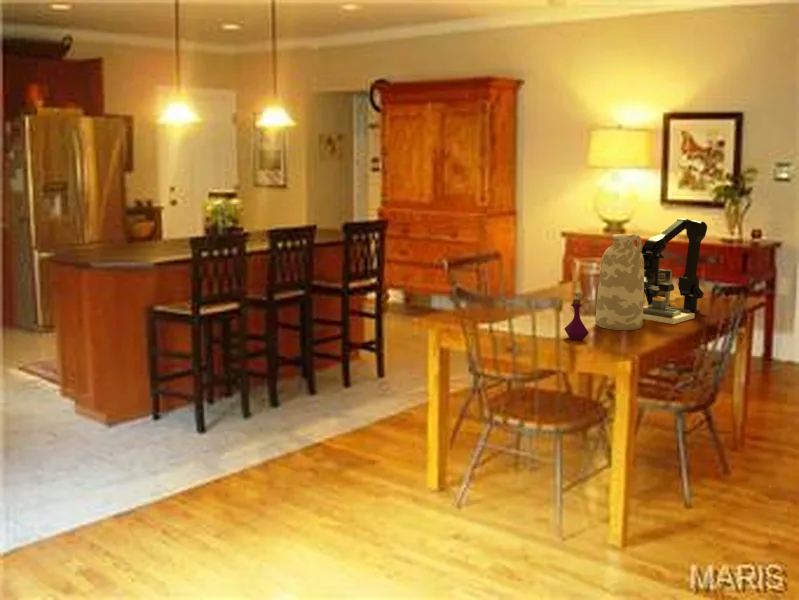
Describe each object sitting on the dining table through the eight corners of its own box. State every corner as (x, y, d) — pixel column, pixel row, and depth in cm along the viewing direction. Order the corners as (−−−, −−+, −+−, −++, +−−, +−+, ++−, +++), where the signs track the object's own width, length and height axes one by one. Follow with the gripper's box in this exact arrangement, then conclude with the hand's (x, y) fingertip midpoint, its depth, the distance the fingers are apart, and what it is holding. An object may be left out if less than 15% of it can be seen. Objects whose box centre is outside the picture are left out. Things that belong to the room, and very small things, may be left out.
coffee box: (647, 304, 417) (649, 269, 414) (649, 302, 423) (651, 267, 420) (668, 306, 414) (670, 271, 411) (669, 303, 420) (672, 269, 417)
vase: (586, 322, 376) (591, 230, 369) (623, 319, 384) (629, 228, 377) (616, 333, 358) (622, 236, 351) (654, 329, 365) (661, 234, 358)
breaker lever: (656, 310, 393) (657, 296, 392) (665, 311, 390) (666, 297, 389) (651, 311, 390) (652, 297, 389) (660, 312, 387) (661, 298, 386)
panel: (647, 310, 404) (648, 302, 403) (694, 318, 389) (694, 310, 388) (626, 315, 391) (626, 307, 391) (673, 324, 376) (674, 315, 375)
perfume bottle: (563, 336, 350) (566, 290, 347) (582, 336, 351) (585, 290, 348) (568, 341, 343) (571, 294, 340) (588, 341, 344) (591, 294, 340)
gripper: (622, 268, 391) (620, 304, 394) (662, 273, 378) (660, 310, 381) (636, 265, 398) (634, 300, 401) (675, 270, 386) (673, 307, 389)
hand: (649, 304), depth 393 cm, fingers closed
